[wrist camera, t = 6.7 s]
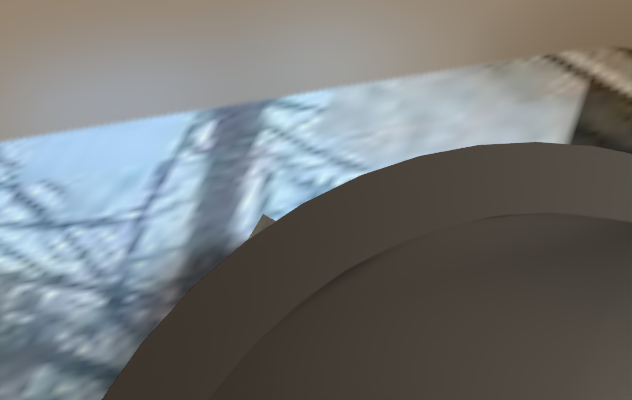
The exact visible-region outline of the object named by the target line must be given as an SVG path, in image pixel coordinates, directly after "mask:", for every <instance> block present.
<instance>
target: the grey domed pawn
mask: <svg viewBox="0 0 632 400" xmlns="http://www.w3.org/2000/svg"><path fill="white" fill-rule="evenodd" d="M102 400H632V154H630V153H625V152H620V151H615V150H610V149H605V148H600V147H595V146H581V145H568V144H555V143H542V142H529V143H511V144H492V145H477V146H471V147H466V148H461V149H455V150H450V151H444V152H439V153H434V154H428V155H423V156H418V157H415V158H412V159H409V160H406V161H403V162H400V163H397V164H394V165H391V166H388V167H385V168H382V169H379V170H376V171H373V172H370V173H367V174H364V175H361V176H359V177H357V178H355V179H352V180H350V181H348V182H346V183H344V184H342V185H340V186H338V187H336V188H334V189H332V190H330V191H328V192H326V193H323V194H321V195H319V196H317V197H315V198H313V199H311V200H309V201H307V202H305V203H303V204H301V205H300V206H298V207H297V208H295V209H294V210H292V211H291V212H289V213H288V214H286V215H285V216H283V217H282V218H280V219H279V220H277V221H276V222H274V223H273V224H271V225H270V226H268V227H266V228H265V229H263V230H262V231H260V232H259V233H257V234H256V235H254V236H253V237H251V238H250V239H248V240H247V241H246V242H245V243H243V244H242V245H241V246H240V247H239V248H238V249H236V250H235V251H234V252H233V253H232V254H231V255H229V256H228V257H227V258H226V259H225V260H224V261H222V262H221V263H220V264H219V265H218V266H217V267H215V268H214V269H213V270H212V271H211V272H210V273H208V274H207V275H206V276H205V277H204V278H203V279H201V280H200V281H199V282H198V283H197V284H196V285H194V286H193V287H192V288H191V290H190V291H189V292H188V293H187V294H186V295H185V296H184V297H183V298H182V299H181V301H180V302H179V303H178V304H177V305H176V306H175V307H174V308H173V309H172V310H171V312H170V313H169V314H168V315H167V316H166V317H165V318H164V319H163V320H162V321H161V323H160V324H159V325H158V326H157V327H156V328H155V329H154V330H153V331H152V333H151V334H150V335H149V336H148V337H147V338H146V339H145V340H144V341H143V342H142V344H141V345H140V346H139V348H138V349H137V351H136V352H135V353H134V355H133V356H132V358H131V359H130V360H129V362H128V363H127V365H126V366H125V368H124V369H123V370H122V372H121V373H120V375H119V376H118V377H117V379H116V380H115V382H114V383H113V384H112V386H111V387H110V389H109V390H108V391H107V393H106V394H105V396H104V397H103V399H102Z"/></svg>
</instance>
